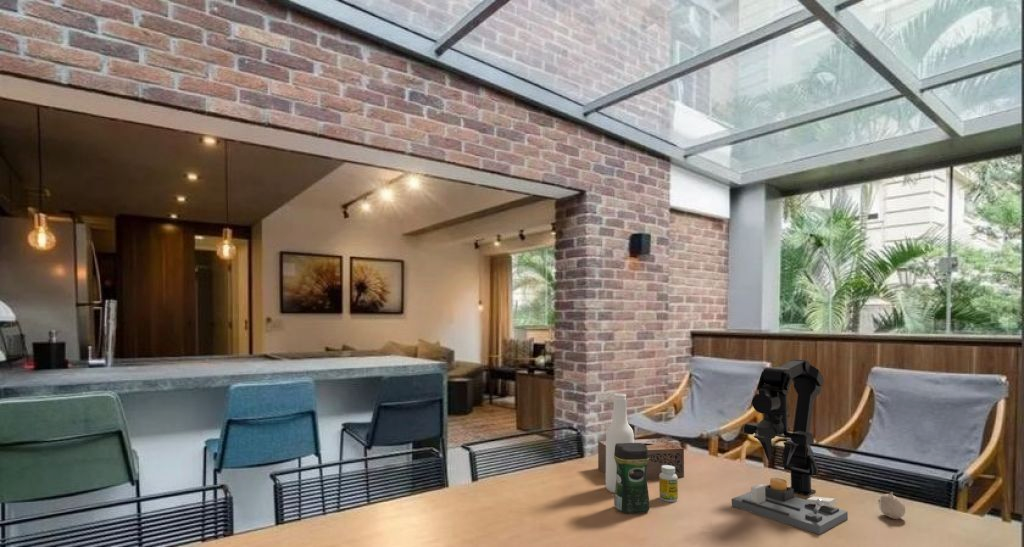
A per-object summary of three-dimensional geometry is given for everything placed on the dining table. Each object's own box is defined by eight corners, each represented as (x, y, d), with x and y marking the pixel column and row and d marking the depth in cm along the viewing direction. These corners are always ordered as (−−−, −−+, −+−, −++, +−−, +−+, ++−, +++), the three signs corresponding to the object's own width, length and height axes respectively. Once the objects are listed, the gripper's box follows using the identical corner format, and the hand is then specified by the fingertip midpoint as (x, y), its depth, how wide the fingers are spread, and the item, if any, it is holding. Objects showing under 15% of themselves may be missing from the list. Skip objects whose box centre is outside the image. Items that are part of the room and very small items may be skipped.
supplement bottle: (667, 495, 160) (667, 463, 160) (681, 500, 155) (681, 467, 156) (655, 498, 157) (655, 465, 157) (669, 503, 152) (669, 470, 153)
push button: (774, 487, 158) (774, 477, 158) (789, 491, 154) (789, 481, 154) (767, 489, 155) (767, 479, 155) (782, 494, 151) (782, 483, 152)
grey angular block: (760, 499, 151) (759, 483, 152) (765, 500, 150) (765, 485, 150) (751, 502, 148) (751, 487, 149) (756, 504, 147) (756, 488, 147)
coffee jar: (641, 503, 152) (641, 439, 153) (653, 514, 144) (653, 446, 145) (610, 505, 150) (610, 440, 152) (620, 515, 142) (620, 447, 144)
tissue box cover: (662, 465, 192) (662, 438, 192) (684, 478, 178) (683, 448, 178) (598, 469, 186) (598, 440, 187) (614, 482, 172) (614, 451, 173)
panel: (762, 493, 162) (762, 479, 163) (847, 518, 143) (847, 502, 144) (731, 505, 151) (731, 490, 152) (819, 534, 132) (819, 516, 133)
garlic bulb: (873, 514, 147) (872, 486, 147) (887, 511, 149) (886, 483, 150) (898, 523, 141) (897, 493, 141) (912, 520, 143) (911, 491, 144)
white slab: (813, 500, 148) (812, 496, 149) (836, 503, 144) (835, 498, 144) (807, 503, 146) (806, 499, 146) (830, 506, 141) (829, 501, 142)
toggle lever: (812, 509, 138) (819, 496, 137) (819, 514, 137) (826, 501, 136) (809, 511, 137) (816, 498, 136) (816, 516, 136) (823, 502, 135)
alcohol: (635, 487, 166) (635, 393, 168) (632, 496, 158) (632, 397, 160) (607, 483, 169) (608, 391, 171) (603, 492, 161) (604, 395, 163)
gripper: (733, 407, 159) (734, 459, 158) (796, 418, 144) (797, 475, 143) (752, 404, 166) (752, 453, 164) (814, 413, 151) (815, 468, 150)
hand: (777, 462), depth 155 cm, fingers open, 5 cm apart
